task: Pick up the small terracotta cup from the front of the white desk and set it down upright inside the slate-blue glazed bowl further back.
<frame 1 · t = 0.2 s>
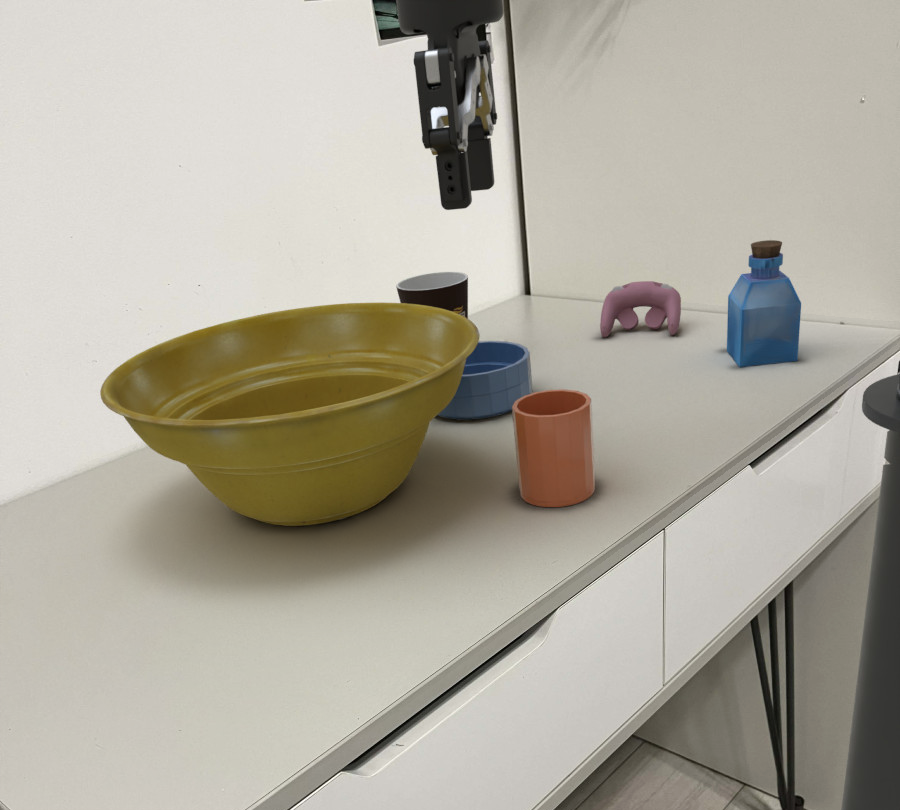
hand: (469, 198, 74), 24 cm above the table, tool pointing down, fingers open, 8 cm apart
cup: (557, 491, 82), on the table
bowl: (477, 402, 104), on the table
planter bowl: (321, 495, 88), on the table
video game controller: (640, 332, 120), on the table
perfume bottle: (761, 357, 106), on the table
coffee mug: (431, 366, 118), on the table
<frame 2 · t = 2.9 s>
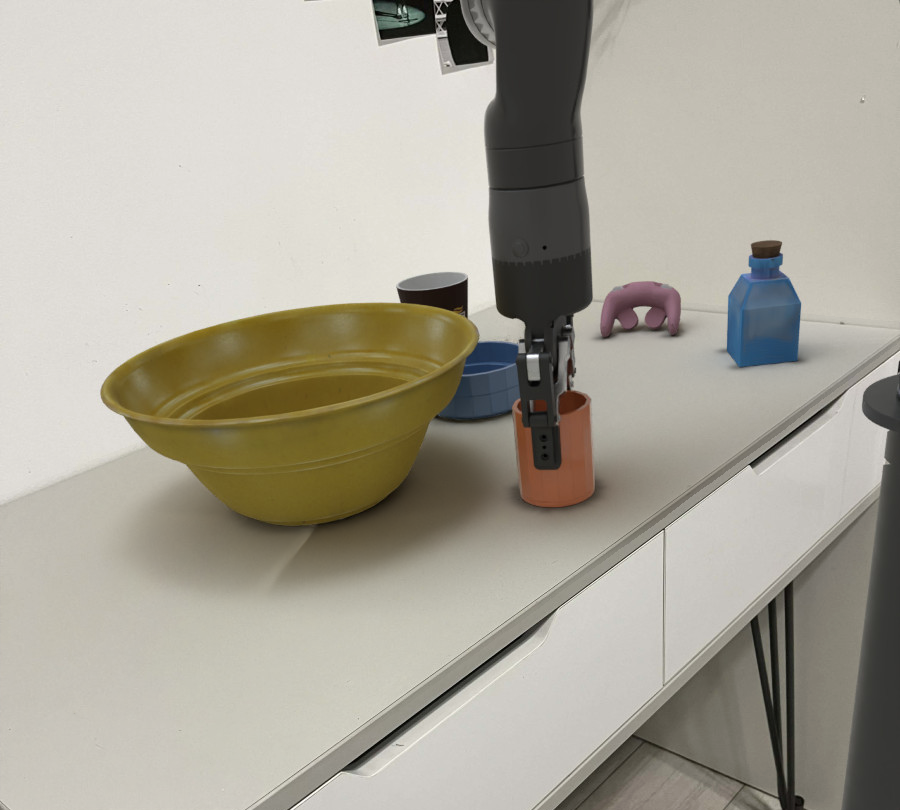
hand: (554, 450, 80), 4 cm above the table, tool pointing down, fingers closed on cup, 6 cm apart
cup: (557, 491, 82), on the table, touching gripper
everything else where it was.
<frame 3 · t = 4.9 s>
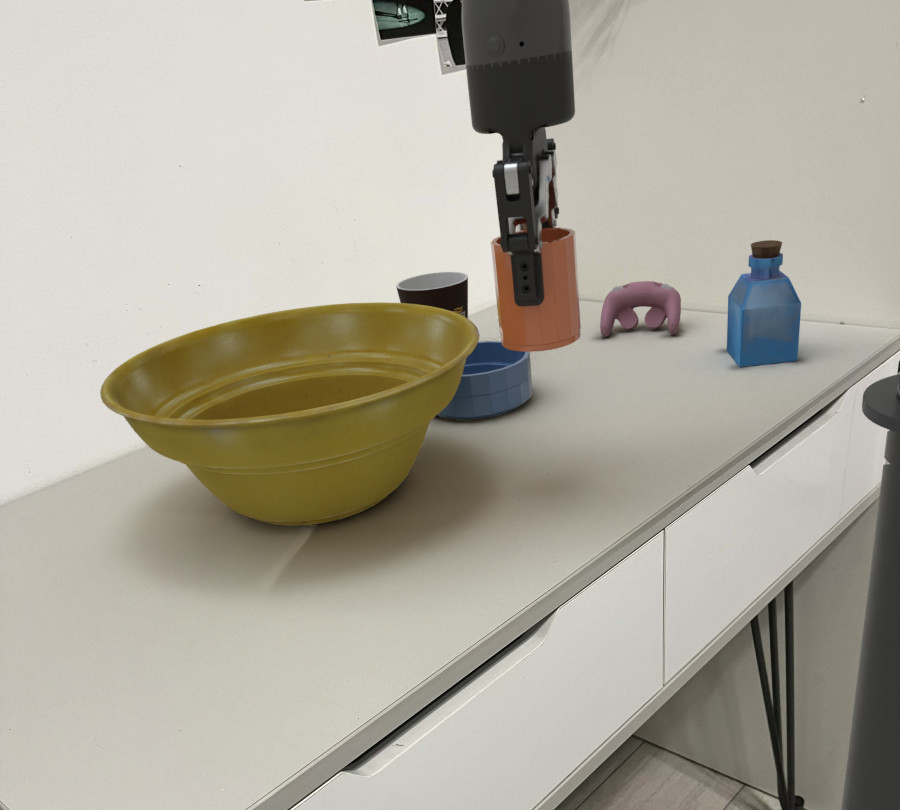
hand: (536, 292, 75), 17 cm above the table, tool pointing down, fingers closed on cup, 6 cm apart
cup: (540, 339, 77), point 13 cm above the table, touching gripper
everything else where it was.
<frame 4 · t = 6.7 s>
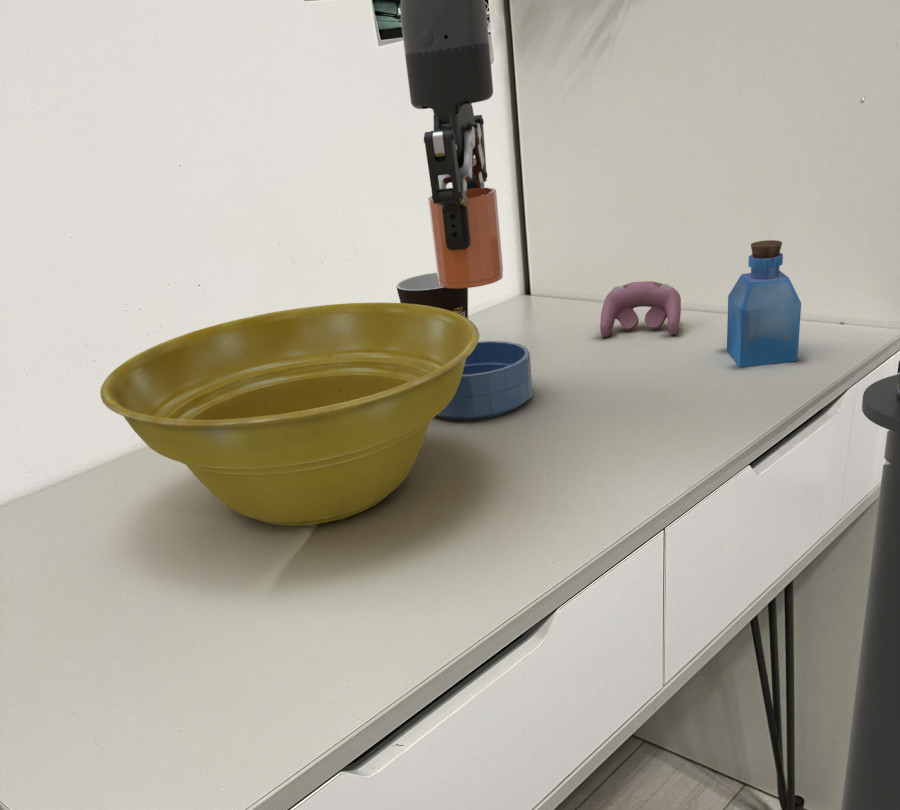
hand: (466, 240, 93), 18 cm above the table, tool pointing down, fingers closed on cup, 6 cm apart
cup: (470, 280, 94), point 14 cm above the table, touching gripper
everything else where it was.
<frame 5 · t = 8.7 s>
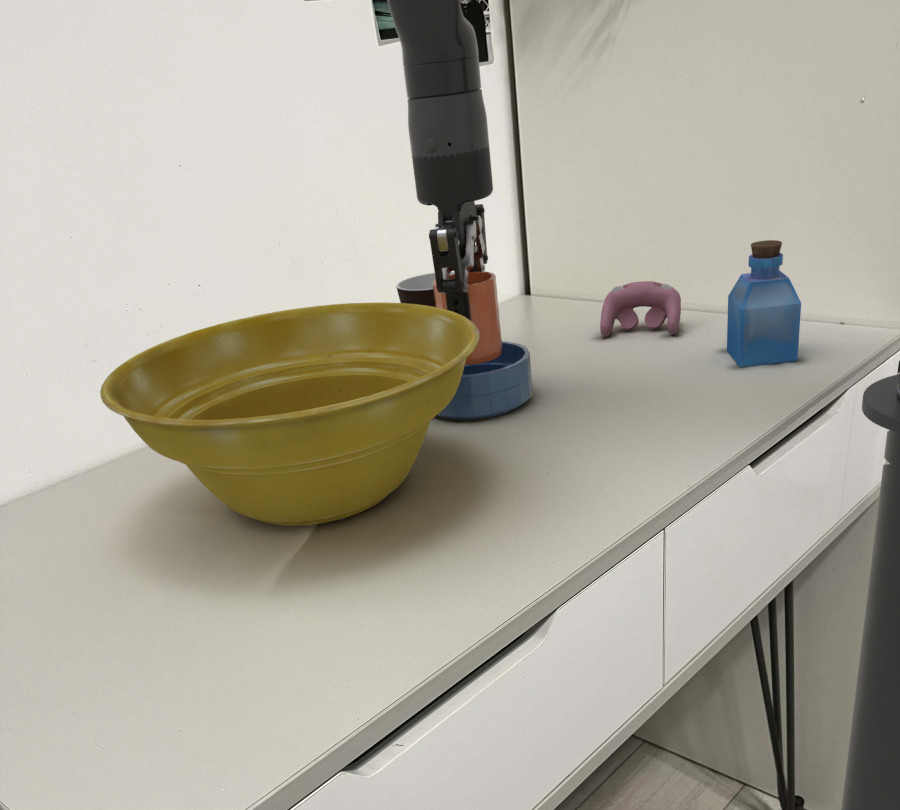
hand: (468, 320, 100), 9 cm above the table, tool pointing down, fingers closed on cup, 6 cm apart
cup: (472, 355, 102), point 5 cm above the table, touching gripper
everything else where it was.
when the fingers open (4 cm above the table, at t = 10.4 s): cup stays where it is, resting on bowl.
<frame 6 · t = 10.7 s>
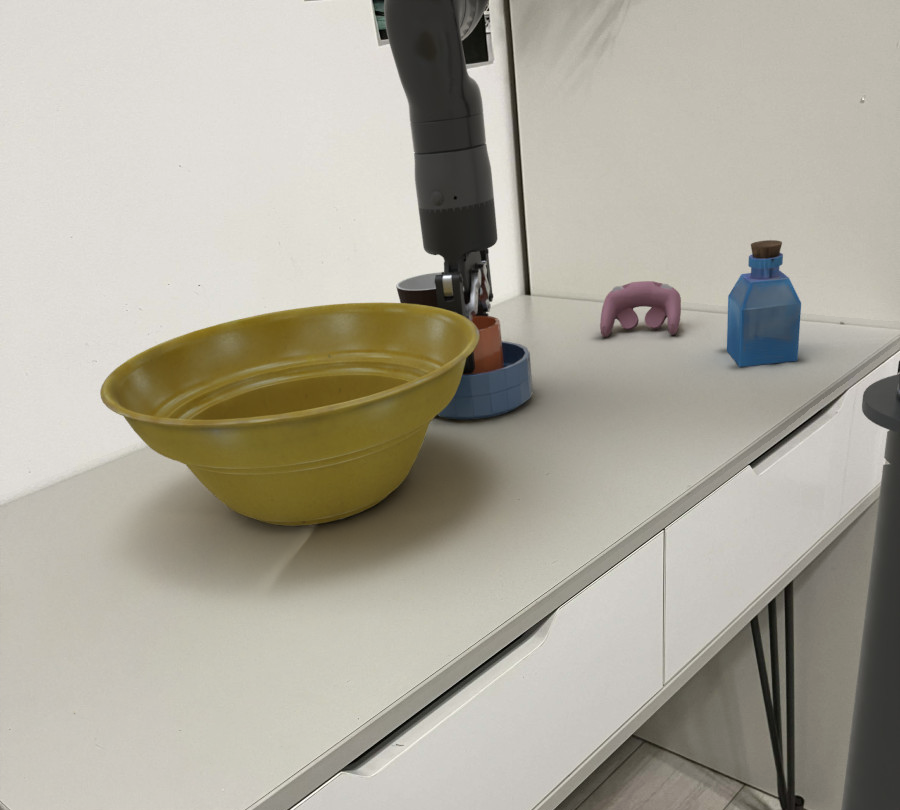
hand: (473, 360, 102), 5 cm above the table, tool pointing down, fingers open, 8 cm apart
cup: (476, 397, 104), point 1 cm above the table, touching bowl
everything else where it was.
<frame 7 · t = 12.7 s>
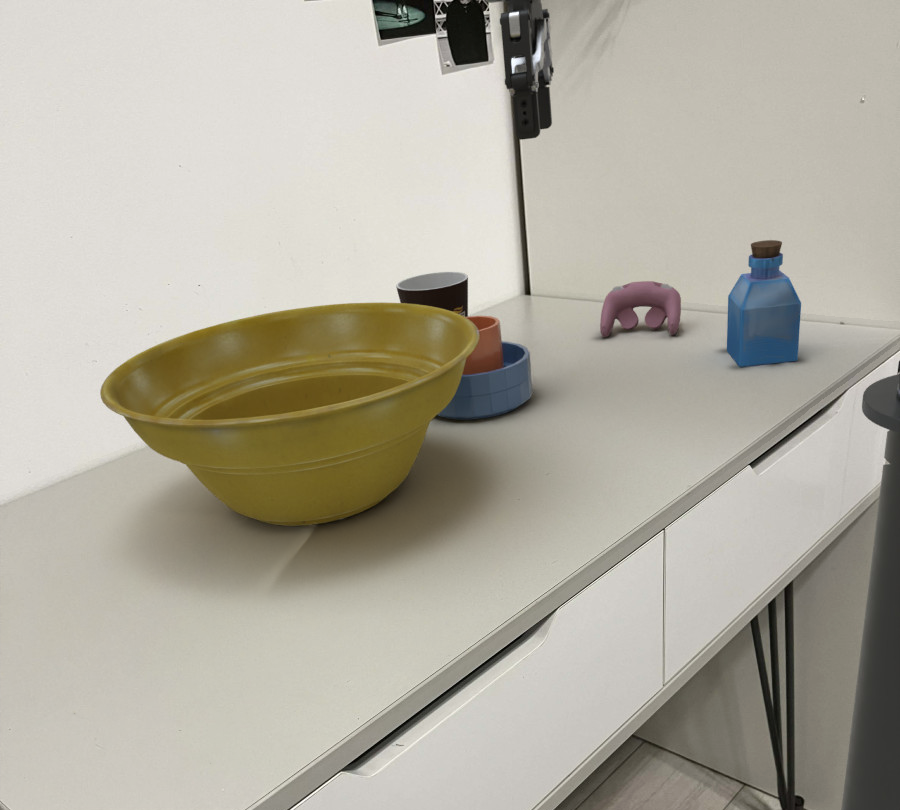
hand: (535, 133, 94), 25 cm above the table, tool pointing down, fingers open, 8 cm apart
nothing on the table moved.
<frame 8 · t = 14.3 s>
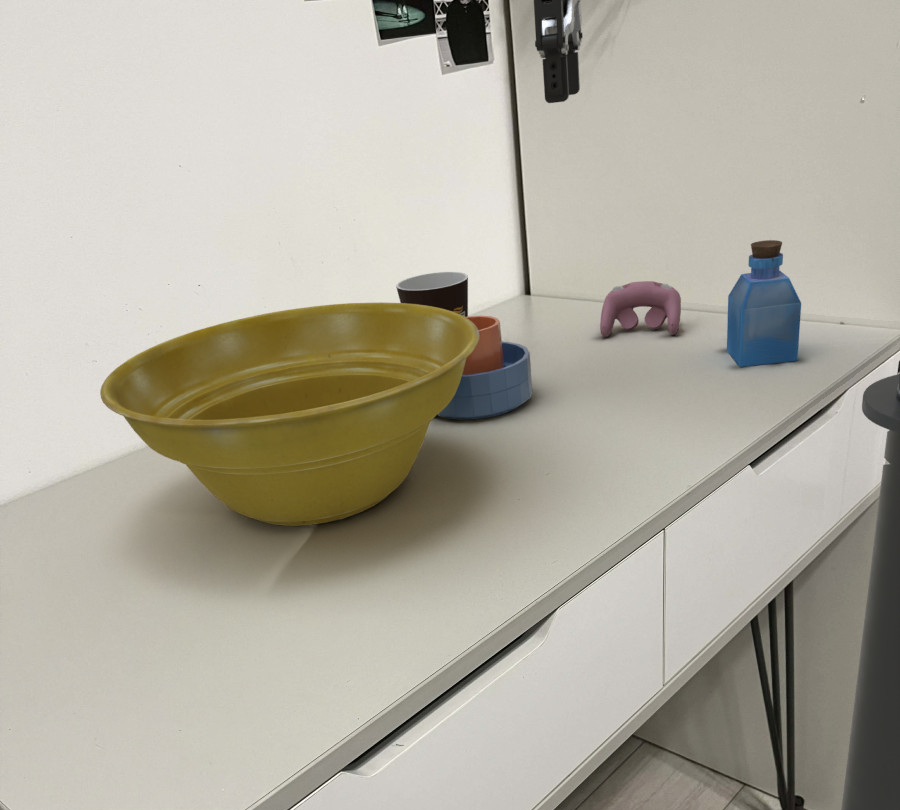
hand: (563, 98, 94), 28 cm above the table, tool pointing down, fingers open, 8 cm apart
nothing on the table moved.
at the end: cup 0.0 cm off-centre in the bowl, point 0.6 cm above the bowl's base; cup tilted 0°; the gripper is holding nothing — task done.
